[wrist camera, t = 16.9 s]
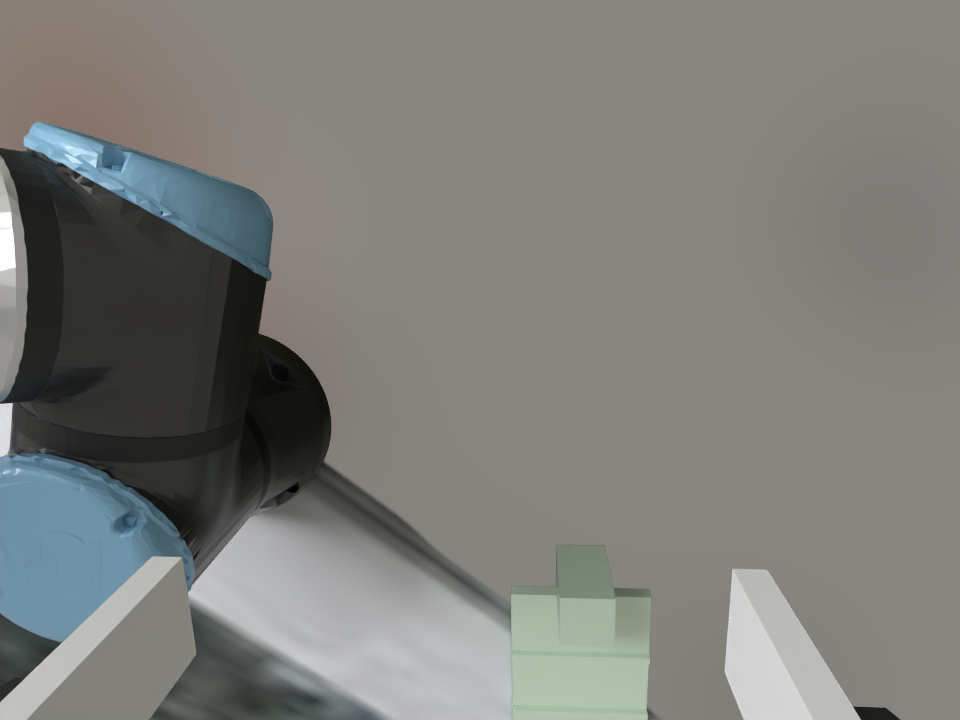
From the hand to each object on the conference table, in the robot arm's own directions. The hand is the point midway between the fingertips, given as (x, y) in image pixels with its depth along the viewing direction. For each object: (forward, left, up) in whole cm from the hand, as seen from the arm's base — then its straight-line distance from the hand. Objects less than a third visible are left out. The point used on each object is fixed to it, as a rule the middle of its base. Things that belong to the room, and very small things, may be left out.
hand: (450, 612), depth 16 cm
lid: (+6, -29, -37) cm, 47 cm away
